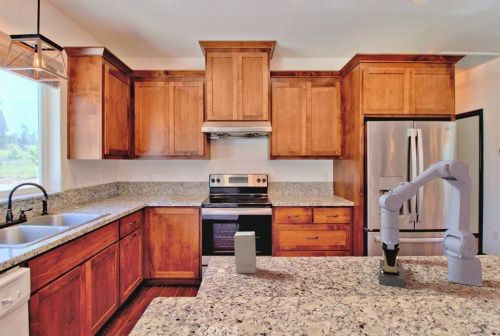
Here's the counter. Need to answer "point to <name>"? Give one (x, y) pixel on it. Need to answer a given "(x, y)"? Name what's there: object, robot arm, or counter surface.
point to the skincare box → (245, 252)
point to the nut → (389, 268)
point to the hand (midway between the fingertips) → (390, 264)
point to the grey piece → (391, 276)
